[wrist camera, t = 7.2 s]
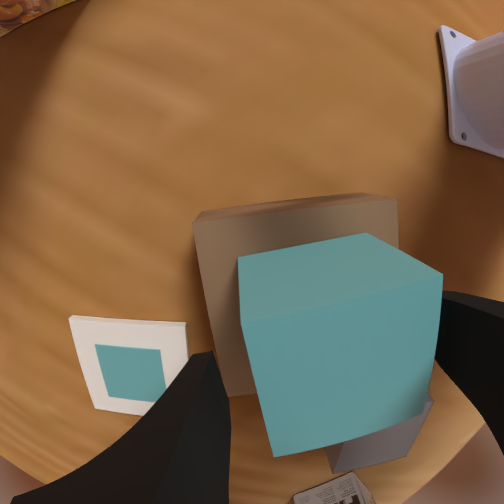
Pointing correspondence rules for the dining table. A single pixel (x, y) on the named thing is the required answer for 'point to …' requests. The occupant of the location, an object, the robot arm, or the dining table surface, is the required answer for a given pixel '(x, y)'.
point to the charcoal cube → (377, 444)
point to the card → (128, 360)
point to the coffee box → (337, 492)
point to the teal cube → (338, 338)
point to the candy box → (24, 11)
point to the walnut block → (268, 239)
